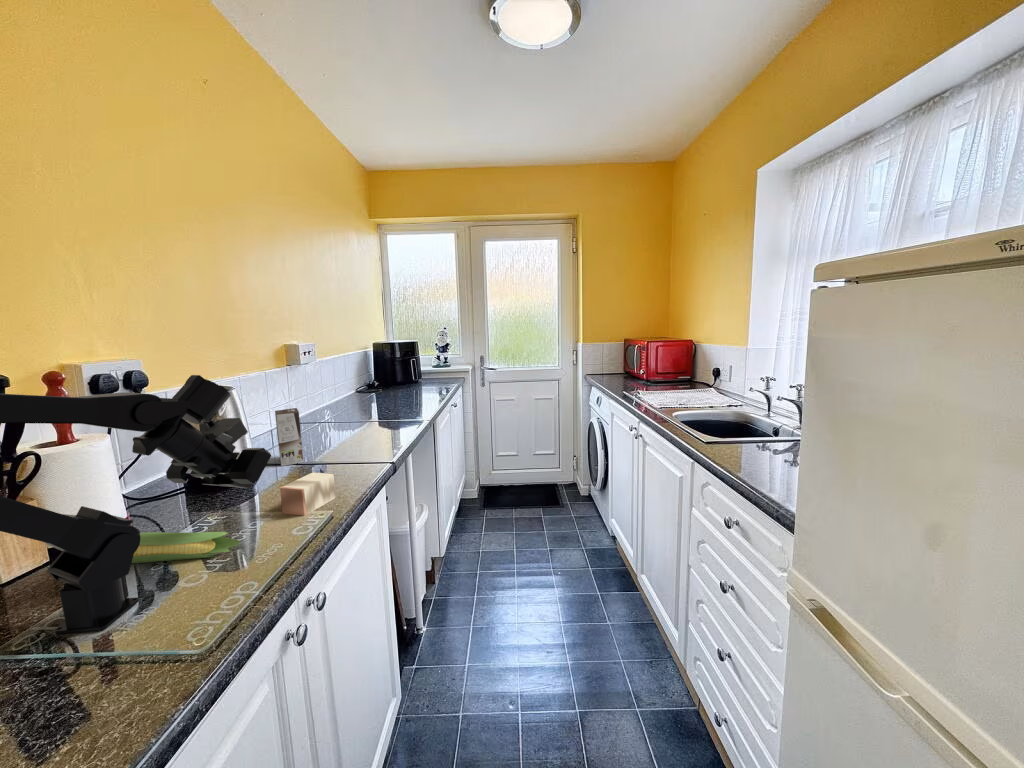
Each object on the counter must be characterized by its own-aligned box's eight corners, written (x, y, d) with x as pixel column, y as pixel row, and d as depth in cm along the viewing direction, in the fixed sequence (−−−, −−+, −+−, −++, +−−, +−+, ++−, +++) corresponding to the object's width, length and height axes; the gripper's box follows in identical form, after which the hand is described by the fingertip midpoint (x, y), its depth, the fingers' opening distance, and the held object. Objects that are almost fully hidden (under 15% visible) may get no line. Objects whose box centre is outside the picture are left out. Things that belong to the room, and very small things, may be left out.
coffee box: (304, 462, 130) (299, 411, 128) (280, 466, 127) (275, 414, 125) (302, 455, 138) (297, 407, 136) (279, 459, 135) (274, 409, 133)
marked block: (301, 489, 92) (333, 474, 101) (279, 487, 93) (312, 472, 103) (304, 515, 92) (335, 497, 102) (282, 513, 94) (315, 495, 104)
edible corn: (130, 531, 78) (109, 536, 74) (243, 527, 80) (229, 532, 75) (127, 560, 77) (106, 567, 73) (241, 556, 79) (226, 562, 75)
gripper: (255, 404, 74) (307, 449, 85) (173, 408, 78) (232, 450, 90) (221, 460, 67) (282, 501, 79) (133, 461, 71) (203, 499, 83)
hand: (249, 485), depth 83 cm, fingers closed
